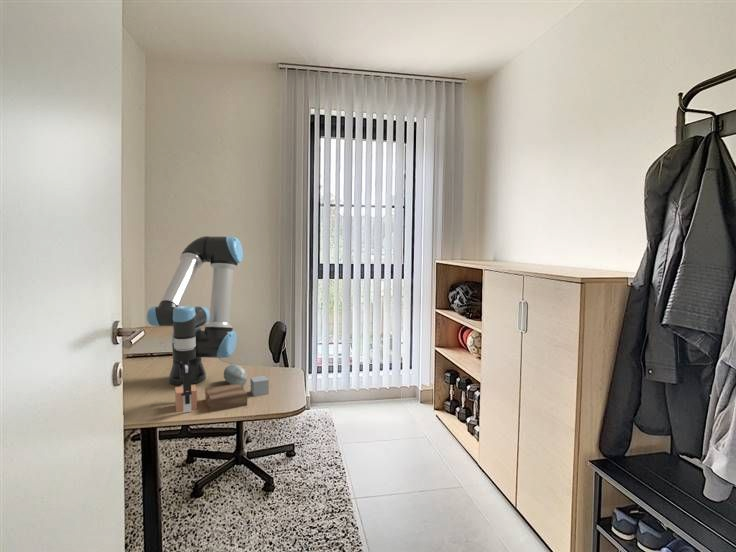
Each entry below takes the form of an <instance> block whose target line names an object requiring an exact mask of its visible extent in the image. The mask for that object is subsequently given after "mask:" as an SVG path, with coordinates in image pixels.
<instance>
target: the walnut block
mask: <svg viewBox="0 0 736 552" xmlns="http://www.w3.org/2000/svg"><path fill="white" fill-rule="evenodd" d="M204 391H205V392H204V393H205V394H204V395H205V402H206V404H207V407H208V408H209V410H210V412H211V413H212V412H218V411H224V410H229V409H235V408H239V407H240V408H241V407H246V406H248V393H247V391H246V390H245V388H243V386H241V385H240V384H239V383H237V384H231V385H230V384H225V385H219V386H212V387H207V388H206V387H205V389H204Z"/></svg>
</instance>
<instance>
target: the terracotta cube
mask: <svg viewBox="0 0 736 552" xmlns="http://www.w3.org/2000/svg"><path fill="white" fill-rule="evenodd" d="M186 392H188V391H186ZM191 392H192V394H191V409H192V410H196V409H198V390H197V386H196V384H191ZM181 394H183V386H181V385H180V386H175V387H174V397H175V398H174V399H175V401H174V403H175V411H176V413H178V412H183V396H181Z"/></svg>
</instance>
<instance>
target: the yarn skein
mask: <svg viewBox="0 0 736 552" xmlns="http://www.w3.org/2000/svg"><path fill="white" fill-rule="evenodd" d="M223 370H224V371H223V378H224V380H225V381H226V382H227V383H228V385H231V384H237V383H239V384H240V385H241V386H242V387H243V386H244V385H245V384H246V383H247V381H248V372H247V371H246V370H245V369H244V368H243V367H242V366H241V365H237V364H235V363H232V364H229V365H228V366H226V367H225V369H223Z"/></svg>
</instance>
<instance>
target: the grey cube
mask: <svg viewBox="0 0 736 552" xmlns="http://www.w3.org/2000/svg"><path fill="white" fill-rule="evenodd" d="M269 382H270V381H269V379H268V377H267V375H258V376H252V377H250V393H251V395H252V396H253V397H259V395H260V396H265V395H269V393H270V392H269V390H270V389H269V388H270V385H269Z"/></svg>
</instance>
